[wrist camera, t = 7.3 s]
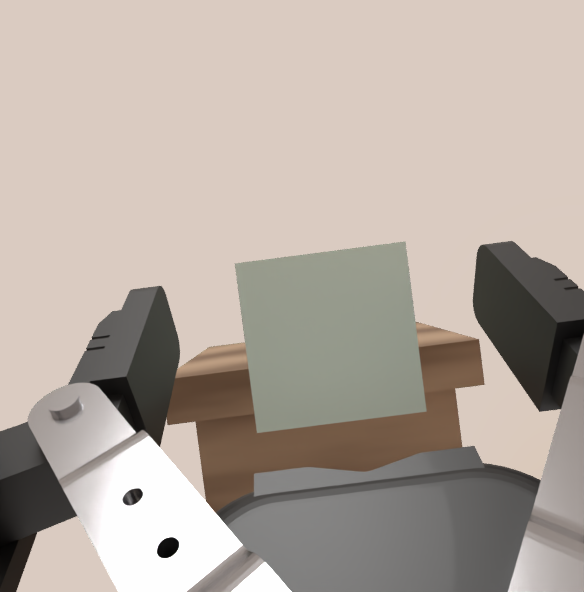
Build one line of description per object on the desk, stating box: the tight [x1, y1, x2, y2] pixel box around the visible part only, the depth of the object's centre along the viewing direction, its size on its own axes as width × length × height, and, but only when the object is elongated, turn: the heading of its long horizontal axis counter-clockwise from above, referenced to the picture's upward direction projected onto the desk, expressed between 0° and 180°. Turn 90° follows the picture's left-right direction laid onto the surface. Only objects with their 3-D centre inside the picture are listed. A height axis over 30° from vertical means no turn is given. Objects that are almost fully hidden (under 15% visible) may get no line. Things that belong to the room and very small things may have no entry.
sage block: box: [235, 242, 427, 433], centre depth 24 cm, size 26×4×4 cm, turn 0°
